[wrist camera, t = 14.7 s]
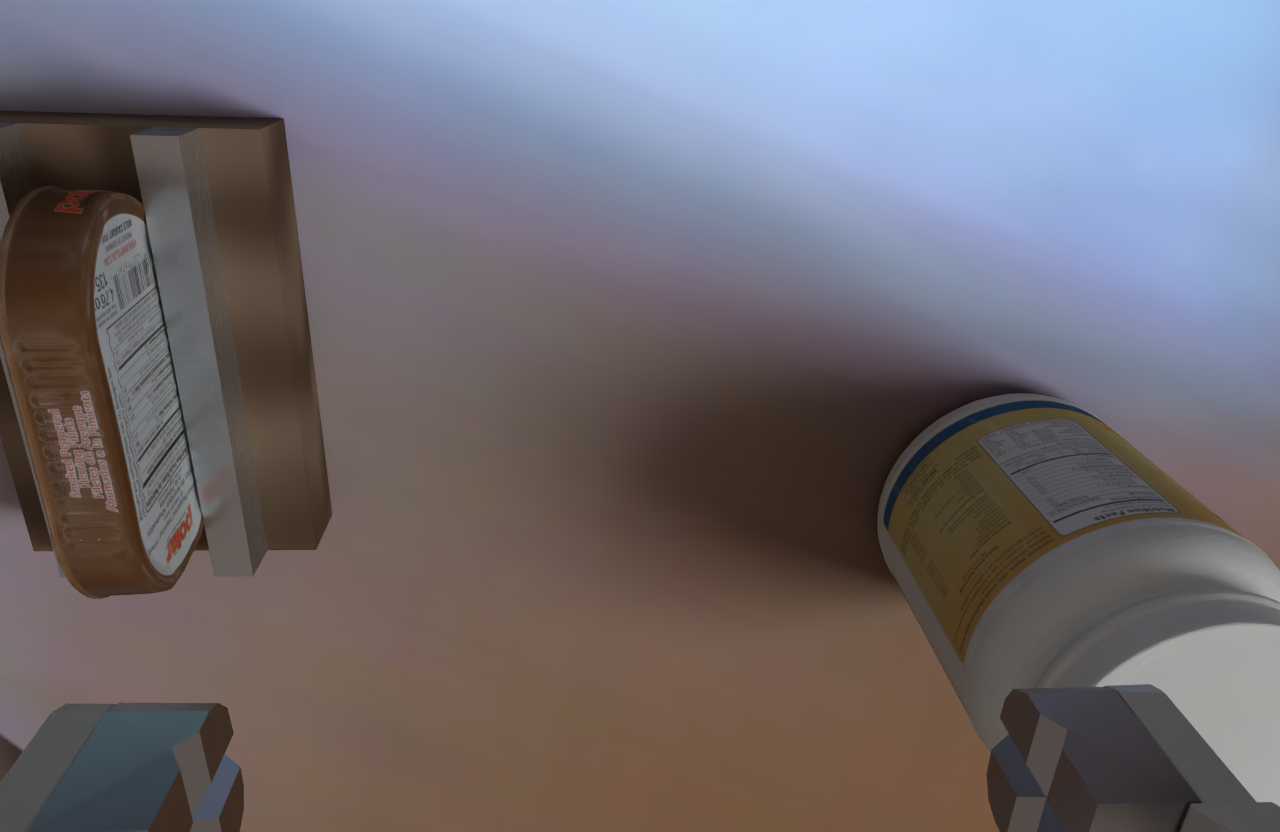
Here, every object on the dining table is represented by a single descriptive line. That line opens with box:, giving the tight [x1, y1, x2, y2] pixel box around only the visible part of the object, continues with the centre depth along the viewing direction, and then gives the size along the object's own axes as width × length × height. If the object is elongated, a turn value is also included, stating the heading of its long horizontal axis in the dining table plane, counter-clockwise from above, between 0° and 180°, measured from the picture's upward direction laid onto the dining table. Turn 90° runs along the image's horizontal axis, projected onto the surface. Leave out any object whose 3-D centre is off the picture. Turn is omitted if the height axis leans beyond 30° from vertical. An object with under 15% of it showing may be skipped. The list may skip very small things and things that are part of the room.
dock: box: [0, 111, 332, 577], centre depth 37 cm, size 18×12×5 cm, turn 178°
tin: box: [0, 186, 204, 599], centre depth 33 cm, size 15×3×8 cm, turn 178°
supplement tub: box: [877, 393, 1280, 807], centre depth 38 cm, size 12×12×17 cm
